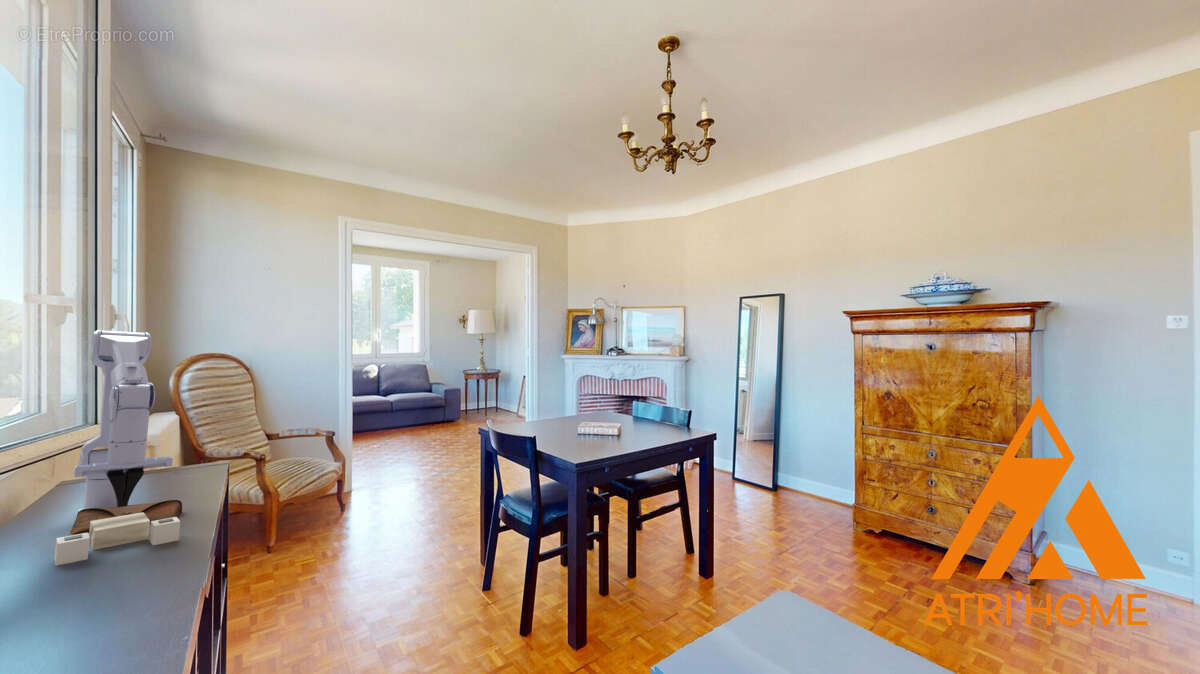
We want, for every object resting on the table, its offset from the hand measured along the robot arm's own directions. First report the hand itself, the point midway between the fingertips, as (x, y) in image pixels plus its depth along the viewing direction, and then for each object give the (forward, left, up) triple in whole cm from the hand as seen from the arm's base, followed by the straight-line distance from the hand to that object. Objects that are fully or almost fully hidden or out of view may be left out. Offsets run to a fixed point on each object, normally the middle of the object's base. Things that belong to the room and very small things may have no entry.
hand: (122, 505), depth 98 cm
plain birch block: (0, 0, -7) cm, 7 cm away
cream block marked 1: (+7, -7, -7) cm, 12 cm away
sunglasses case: (-11, +3, -8) cm, 14 cm away
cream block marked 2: (+7, +6, -7) cm, 12 cm away
